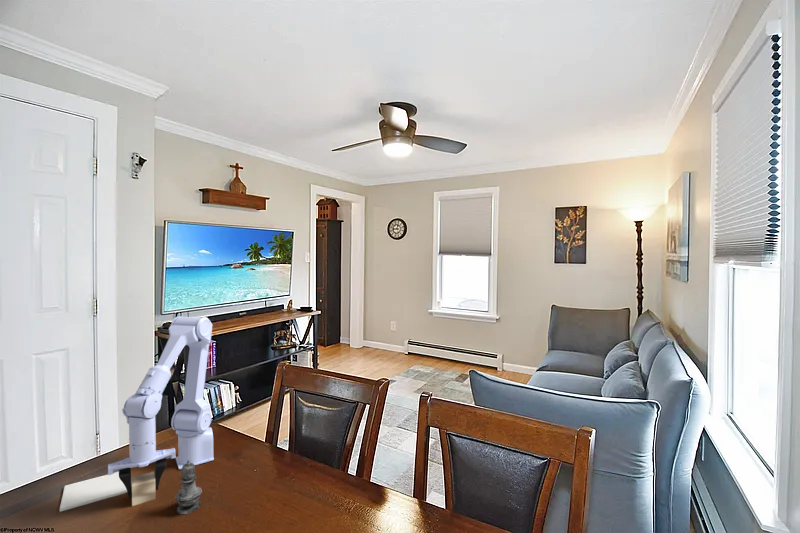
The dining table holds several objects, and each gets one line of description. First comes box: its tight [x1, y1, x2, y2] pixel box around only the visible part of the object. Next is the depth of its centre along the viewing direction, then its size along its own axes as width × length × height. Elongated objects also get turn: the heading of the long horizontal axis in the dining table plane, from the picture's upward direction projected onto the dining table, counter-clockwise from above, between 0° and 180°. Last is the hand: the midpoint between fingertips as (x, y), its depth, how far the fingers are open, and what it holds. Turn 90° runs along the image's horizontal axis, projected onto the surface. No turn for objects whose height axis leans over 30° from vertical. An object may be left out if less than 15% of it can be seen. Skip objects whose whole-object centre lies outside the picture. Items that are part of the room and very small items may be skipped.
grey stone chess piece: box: [174, 460, 203, 515], centre depth 98 cm, size 6×6×12 cm
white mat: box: [59, 471, 128, 513], centre depth 105 cm, size 14×12×1 cm
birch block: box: [131, 470, 157, 507], centre depth 102 cm, size 5×5×5 cm
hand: (143, 492), depth 102 cm, fingers closed on birch block, 5 cm apart
